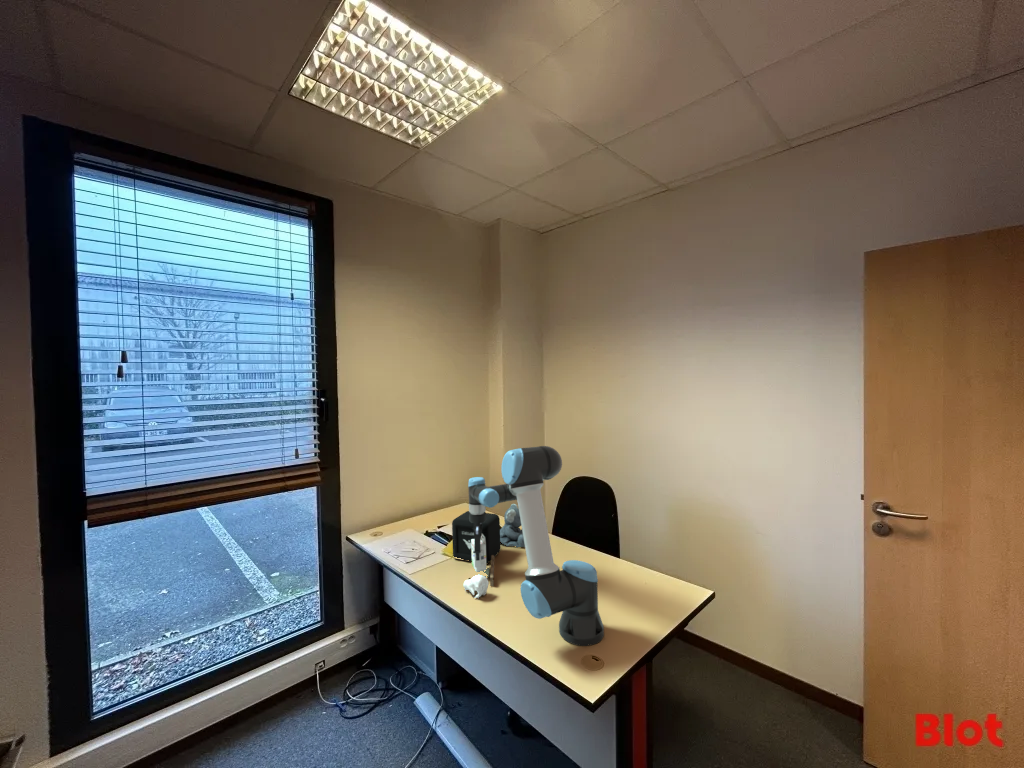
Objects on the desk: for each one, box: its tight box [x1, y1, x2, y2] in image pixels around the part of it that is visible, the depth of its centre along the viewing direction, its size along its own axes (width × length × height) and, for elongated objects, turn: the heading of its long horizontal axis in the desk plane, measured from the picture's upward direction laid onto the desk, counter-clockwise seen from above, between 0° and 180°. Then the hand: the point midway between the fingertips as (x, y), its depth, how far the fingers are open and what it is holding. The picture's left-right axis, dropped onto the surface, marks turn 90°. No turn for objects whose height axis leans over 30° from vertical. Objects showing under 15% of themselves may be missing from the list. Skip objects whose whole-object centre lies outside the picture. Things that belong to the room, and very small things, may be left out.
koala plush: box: [500, 503, 525, 548], centre depth 218 cm, size 17×18×20 cm
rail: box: [489, 555, 495, 587], centre depth 182 cm, size 22×1×4 cm, turn 2°
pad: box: [483, 567, 490, 578], centre depth 183 cm, size 9×9×1 cm
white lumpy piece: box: [463, 574, 490, 599], centre depth 166 cm, size 6×8×12 cm
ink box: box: [471, 534, 487, 572], centre depth 183 cm, size 9×5×15 cm, turn 21°
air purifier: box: [451, 510, 501, 565], centre depth 201 cm, size 20×15×20 cm
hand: (478, 561), depth 183 cm, fingers closed on ink box, 9 cm apart
